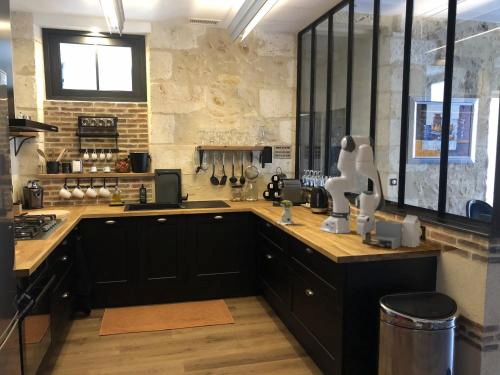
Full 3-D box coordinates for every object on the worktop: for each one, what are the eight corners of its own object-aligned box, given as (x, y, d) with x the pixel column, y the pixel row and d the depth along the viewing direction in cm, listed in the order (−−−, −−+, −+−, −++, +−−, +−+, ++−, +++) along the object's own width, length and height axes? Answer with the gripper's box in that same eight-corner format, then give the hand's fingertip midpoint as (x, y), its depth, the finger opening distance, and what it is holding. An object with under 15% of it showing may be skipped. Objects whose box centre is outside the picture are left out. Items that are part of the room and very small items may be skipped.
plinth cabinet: (370, 245, 246) (371, 222, 244) (379, 242, 255) (380, 220, 254) (393, 249, 237) (394, 225, 235) (401, 245, 246) (402, 222, 245)
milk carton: (412, 248, 240) (413, 216, 238) (401, 245, 246) (403, 215, 244) (419, 246, 245) (420, 215, 243) (408, 244, 250) (409, 214, 248)
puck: (378, 246, 244) (378, 243, 244) (380, 245, 247) (380, 242, 247) (384, 247, 241) (384, 244, 241) (387, 246, 244) (387, 243, 244)
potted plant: (284, 221, 324) (284, 198, 322) (297, 223, 315) (297, 200, 313) (274, 223, 316) (274, 200, 314) (287, 225, 307) (287, 201, 305)
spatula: (362, 243, 251) (362, 233, 251) (364, 241, 255) (364, 232, 254) (390, 247, 243) (391, 237, 242) (392, 245, 246) (392, 235, 245)
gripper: (369, 214, 260) (368, 235, 262) (355, 218, 245) (354, 241, 246) (378, 215, 256) (377, 237, 258) (365, 220, 241) (364, 242, 242)
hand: (366, 239), depth 252 cm, fingers closed on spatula, 4 cm apart
